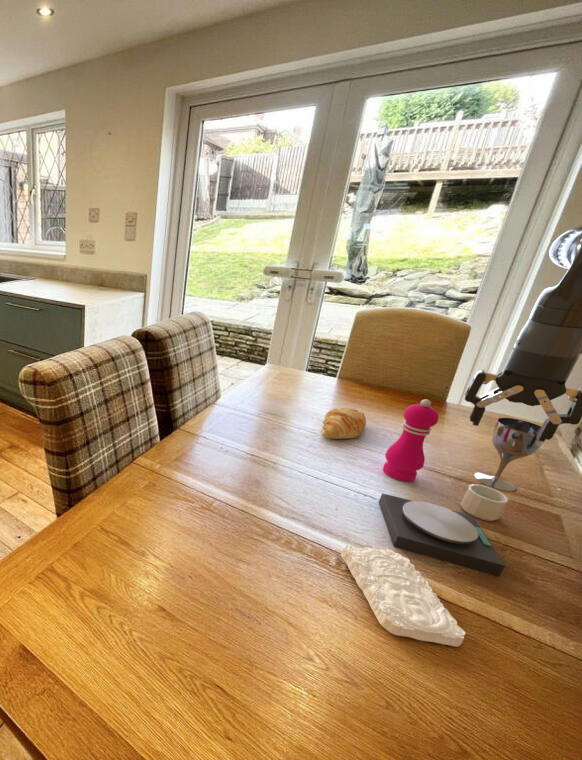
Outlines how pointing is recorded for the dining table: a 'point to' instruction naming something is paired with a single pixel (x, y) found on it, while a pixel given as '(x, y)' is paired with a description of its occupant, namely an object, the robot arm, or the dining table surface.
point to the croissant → (343, 423)
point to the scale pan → (440, 522)
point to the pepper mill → (410, 442)
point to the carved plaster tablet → (401, 596)
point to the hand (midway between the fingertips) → (506, 431)
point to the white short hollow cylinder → (483, 502)
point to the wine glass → (510, 448)
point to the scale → (439, 540)
